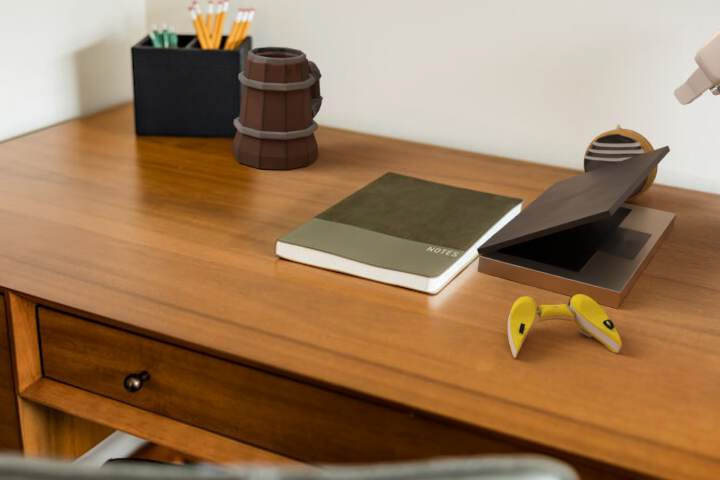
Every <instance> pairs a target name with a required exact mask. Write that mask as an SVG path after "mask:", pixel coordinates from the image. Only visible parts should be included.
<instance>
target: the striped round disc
mask: <svg viewBox="0 0 720 480" xmlns="http://www.w3.org/2000/svg"><path fill="white" fill-rule="evenodd" d="M653 150H655V149H654V147H653V145H652V143H651V142H650V141H649V140H648V139H647V138H646V137H645V136H644V135H643V134H642V133H640V132H637V131H635V130H633V129H628V128H622V127H621V126H620V123H617V124H616V126H615V128H614V129H611V130H607V131H605V132H602V133H600V134H599V135H596V136H595V138H593V139H592V140H591V142H590V143H589V144H588V146H587V147H586V150H585V153H584V156H583V173H586V172H589V171H592V170H595V169H598V168H601V167H604V166H607V165H610V164H613V163H616V162H620V161H623V160H626V159H629V158H632V157H635V156H638V155H641V154H644V153H647V152H650V151H653ZM658 168H659V164H658V165H657V166H656V167H655V168H654V169H653V170H652V171H651V173H650V174H649V175H648V176H647V177H646V178H645V179H644V180H643V181H642V183H641V184H640V185H639V186H638V187H637V188H636V189H635V190H634V191H633V193H632V194H631V195H630V196H629V197H628V198H627V199H626V200H625V202H630V201H633V200H636V199H637V198H639V197H640V196H642V195H643V194H644V193H645V192H647V191H648V190H649V189H650V188H651V187H652V185H653V184H654V182H655V180H656V177H657V174H658V170H659V169H658Z"/></svg>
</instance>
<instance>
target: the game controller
mask: <svg viewBox="0 0 720 480" xmlns="http://www.w3.org/2000/svg"><path fill="white" fill-rule="evenodd" d="M537 315H538V319H537V323H542V322H545V321H553V320H556V321H557V320H558V321H567V322H574V323H575V324H576V325H577V326H578V327H580V328H579V330H578V331H579V332H580V333H581V334H582V335H585V336H586V337H588V338H592V337H593V338H594V339H596V340H597V341H599V342H600V343H601V344H602V345H603V346H605V348H607V349H608V350H609V351H610V352H613V353H615V354H619V353H620V351H621V349H622V347H623V342H622V339H621V337H620V335H619V331H618V330H617V328H616V327H615V324H614V322H613V321H612V320H611V319H610V318H609V316H608V315H607V313H606V311H605V310H604V309H603V307H602V306H601V304H598V303H597V302H596V301H595V300H593V299H592V298H590V297H589V296H586V295H583V294H577V295H574V296H573V297H572V296H571V297H570V298H569V300H568V302H567V303H560V304H540V305H537V301H536V300H535V299H534V298H533V297H531V296H529V295H525V296H520V297H518V298H517V299H516V300H515V301H514V303H513V304H512V307H511V308H510V312H509V314H508V319H507V327H506V328H507V338H508V344H509V348H510V352H511V355H512V357H513V359H517V357H518V355H519V352H520V350H521V347H522V345H523V344H524V342H525V340H526V338H527V336H528V334H529V333H530V330H531V328H532V326H533V324H534V321H535V318H536V316H537Z"/></svg>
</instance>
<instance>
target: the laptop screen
mask: <svg viewBox="0 0 720 480" xmlns="http://www.w3.org/2000/svg"><path fill="white" fill-rule="evenodd" d="M670 151H671V149H670V146H669V145H665V146H661V147H659V148H657V149H654V150H653V151H650V152H647V153H644V154H641V155H638V156H635V157H632V158H629V159H626V160H623V161H620V162H616V163H613V164H610V165H607V166H604V167H601V168H598V169H595V170H592V171H589V172H586V173H585V172H583V173H581V174H577V175H575V176H570V177H568V178H565V179H561V180H559V181H556V182H554V183H553V184H552V185H551V186H550V187H548V188H547V189H546V190H545V191H544V192H542V193H541V194H540V195H539V196H538V197H536V198H535V199H534V200H533V201H532V202H530V204H528V205H526V207H525V208H524V209H522V210H521V211H520V212H519V213H517V214H516V215H514V217H513V218H512V219H510V220H509V221H508V222H507V223H505V225H503V226H502V227H501V228H500V229H498V230H497V231H496V232H495V233H494V234H492V235H491V236H490V237H489V238H488V239H487V240H486V241H484V242H483V243H482V244H481V245H480V246H478V247H477V248H476V251H477V254H478V255H479V256H480V255H481V254H484V253H487V252H491V251H494V250H498V249H501V248H505V247H508V246H511V245H515V244H518V243H522V242H525V241H528V240H532V239H535V238H539V237H542V236H546V235H549V234H552V233H556V232H559V231H563V230H566V229H569V228H573V227H576V226H580V225H583V224H587V223H590V222H593V221H597V220H600V219H604V218H607V217H611V216H612V215H613V214H614V213H615V212H616V210H617V209H618V208H619V207H620V206H621V205H622V204H623V203H626V201H625V200H626V199H627V198H628V197H629V196H630V195H631V194H632V193H633V191H634V190H635V189H636V188H637V187H638V186H639V185H640V184H641V183H642V181H643V180H644V179H645V178H646V177H647V176H648V175H649V174H650V173H651V171H652V170H653V169H654V168H655V167H656V166H657V165H658V166H659V164H660V162H661V161H663V159H664V158H665V157H666V156H667V155H668V154H669V153H670Z"/></svg>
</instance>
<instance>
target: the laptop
mask: <svg viewBox="0 0 720 480" xmlns="http://www.w3.org/2000/svg"><path fill="white" fill-rule="evenodd" d="M676 217H677V213H675V212H671V211H665V210H661V209H656V208H651V207H648V206H647V207H646V206H641V205H637V204H633V203H629V202H624V203H623V204H622V205H621V206H620V207H619V208H618V209H617V210H616V212H615V213H614V214H613V215H612V216H611V217H607V218H604V219H600V220H597V221H593V222H590V223H587V224H583V225H580V226H576V227H573V228H569V229H566V230H563V231H559V232H556V233H552V234H549V235H546V236H542V237H539V238H535V239H532V240H528V241H525V242H522V243H518V244H515V245H511V246H508V247H505V248H501V249H498V250H494V251H491V252H487V253H484V254H481V255H479V256H478V265H477V272H478V273H483V274H486V275H491V276H494V277H498V278H502V279H505V280H509V281H513V282H517V283H520V284H523V285H528V286H531V287H535V288H540V289H542V290H547V291H550V292H554V293H558V294H561V295H565V296H568V297H571V298H572V297H573V296H574V295H577V294H583V295H586V296H589V297H590V298H592V299H593V300H595V301H596V302H597V303H598V304H599V305H602V306H607V307H610V308H612V309H613V308H614V309H619V307H620V306H621V304H622V303H623V301H624V300H625V298H626V297H627V295H628V294H629V293H630V291H631V290H632V288H633V287H634V286H635V284H636V283H637V281H638V280H639V278H640V277H641V276H642V274H643V272H644V271H645V269H646V268H647V267H648V265H649V264H650V262H651V260H652V259H653V258H654V256H655V255H656V254H657V252H658V251H659V249H660V248H661V246H662V245H663V243H665V240H666V239H667V238H668V236H669V235H670V233H671V232H672V230H673V229H674V227H675V221H676Z"/></svg>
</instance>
